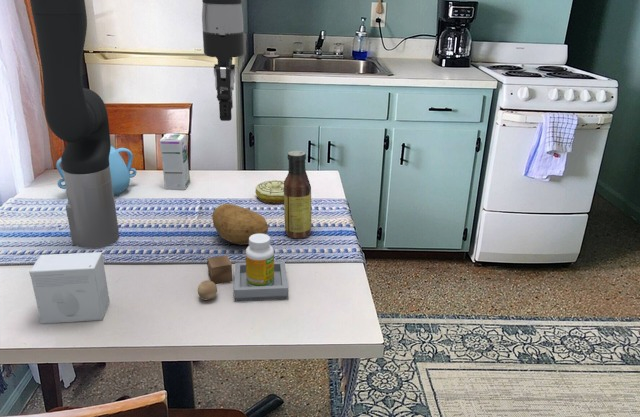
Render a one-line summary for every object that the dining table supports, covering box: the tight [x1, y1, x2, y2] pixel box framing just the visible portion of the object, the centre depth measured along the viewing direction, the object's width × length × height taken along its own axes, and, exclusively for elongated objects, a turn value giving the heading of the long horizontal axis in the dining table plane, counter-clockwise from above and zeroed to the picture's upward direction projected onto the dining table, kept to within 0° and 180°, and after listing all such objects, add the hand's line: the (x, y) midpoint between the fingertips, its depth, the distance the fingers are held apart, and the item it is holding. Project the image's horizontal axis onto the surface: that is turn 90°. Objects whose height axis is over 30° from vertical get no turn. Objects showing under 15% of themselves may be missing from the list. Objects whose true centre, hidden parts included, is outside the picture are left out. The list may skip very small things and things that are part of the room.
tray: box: [233, 260, 289, 302], centre depth 106 cm, size 10×10×2 cm
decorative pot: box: [55, 145, 137, 196], centre depth 144 cm, size 16×16×14 cm
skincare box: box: [29, 251, 111, 325], centre depth 95 cm, size 10×6×10 cm, turn 98°
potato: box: [211, 203, 269, 245], centre depth 122 cm, size 10×14×8 cm
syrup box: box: [159, 132, 191, 191], centre depth 149 cm, size 6×6×14 cm
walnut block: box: [207, 254, 233, 285], centre depth 108 cm, size 4×4×4 cm
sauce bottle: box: [283, 150, 312, 240], centre depth 124 cm, size 6×6×20 cm
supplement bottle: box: [245, 234, 275, 287], centre depth 105 cm, size 5×5×10 cm
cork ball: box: [197, 279, 218, 301], centre depth 102 cm, size 4×4×4 cm
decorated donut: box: [254, 179, 285, 204], centre depth 147 cm, size 10×11×4 cm
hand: (226, 114), depth 108 cm, fingers open, 8 cm apart
